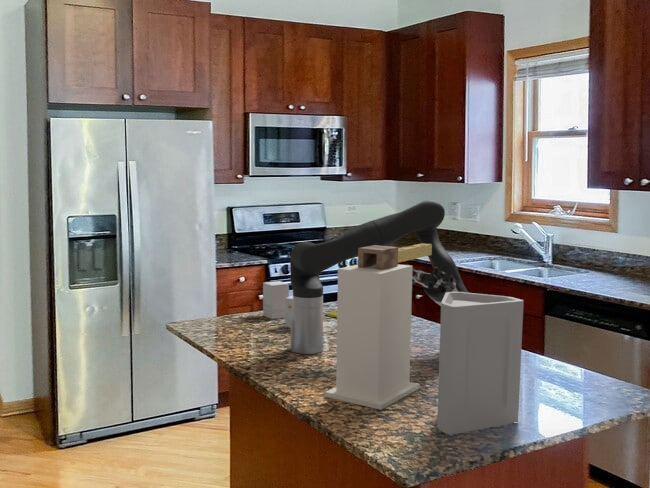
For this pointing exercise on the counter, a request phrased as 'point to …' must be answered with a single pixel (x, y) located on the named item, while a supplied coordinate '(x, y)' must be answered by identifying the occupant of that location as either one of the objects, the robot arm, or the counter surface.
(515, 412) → the triangular grey vase
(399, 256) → the gold block
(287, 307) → the small box
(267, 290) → the supplement box
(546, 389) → the counter surface
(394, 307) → the mount
